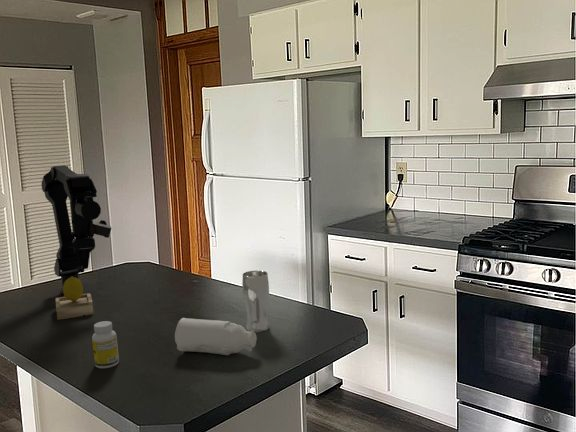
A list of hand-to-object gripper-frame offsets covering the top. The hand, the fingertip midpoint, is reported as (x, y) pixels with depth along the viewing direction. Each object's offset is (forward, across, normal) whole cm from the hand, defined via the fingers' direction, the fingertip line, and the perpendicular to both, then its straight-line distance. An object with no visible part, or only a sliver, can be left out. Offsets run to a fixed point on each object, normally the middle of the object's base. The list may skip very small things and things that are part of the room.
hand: (85, 265), depth 177 cm
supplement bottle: (+12, -52, -2) cm, 53 cm away
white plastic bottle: (+12, -56, -27) cm, 63 cm away
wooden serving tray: (+12, -7, +4) cm, 15 cm away
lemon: (+10, -7, +4) cm, 12 cm away
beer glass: (+12, -46, -41) cm, 62 cm away
